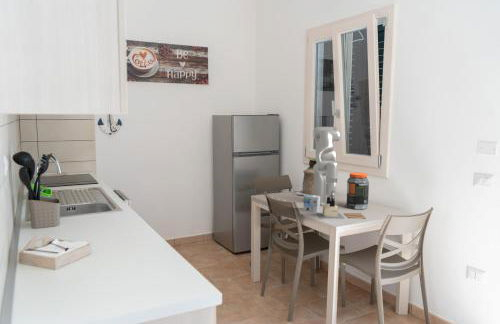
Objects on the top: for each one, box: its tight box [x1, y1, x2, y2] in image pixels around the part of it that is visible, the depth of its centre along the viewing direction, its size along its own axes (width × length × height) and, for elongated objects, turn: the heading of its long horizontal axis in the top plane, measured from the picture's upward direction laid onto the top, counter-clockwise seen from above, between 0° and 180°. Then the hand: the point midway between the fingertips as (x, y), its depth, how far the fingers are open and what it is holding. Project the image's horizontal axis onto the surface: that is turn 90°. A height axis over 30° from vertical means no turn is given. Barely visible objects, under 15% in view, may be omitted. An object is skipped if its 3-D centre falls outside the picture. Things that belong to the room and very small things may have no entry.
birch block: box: [322, 204, 339, 217], centre depth 266 cm, size 6×9×7 cm, turn 91°
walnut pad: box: [343, 212, 367, 220], centre depth 266 cm, size 12×12×1 cm
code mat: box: [315, 212, 346, 220], centre depth 266 cm, size 14×17×1 cm
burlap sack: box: [295, 157, 317, 196], centre depth 337 cm, size 25×25×32 cm
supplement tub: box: [346, 172, 370, 210], centre depth 291 cm, size 16×16×26 cm
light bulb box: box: [302, 194, 321, 213], centre depth 281 cm, size 11×7×11 cm, turn 62°
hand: (330, 205), depth 265 cm, fingers open, 9 cm apart
